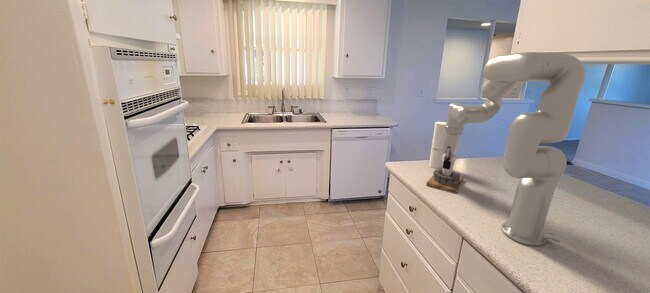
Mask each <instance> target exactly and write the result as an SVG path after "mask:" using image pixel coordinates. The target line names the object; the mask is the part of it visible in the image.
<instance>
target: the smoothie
mask: <svg viewBox="0 0 650 293" xmlns="http://www.w3.org/2000/svg"><path fill="white" fill-rule="evenodd" d="M449 155H451V154H450V153H449ZM442 157H443V161H444V157H445V154H443V155H442ZM449 158H450V156H449ZM457 158H458V155H456V154H455V155H453V156H452V157H451V166H450V169H444V168H443V167H442V169H443V175H446V176H450V175H451V173H452V170H453V169H454V166H455V163H456V160H457ZM453 171H454V170H453Z"/></svg>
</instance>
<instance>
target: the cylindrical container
mask: <svg viewBox="0 0 650 293" xmlns="http://www.w3.org/2000/svg"><path fill="white" fill-rule="evenodd" d="M446 122H447V121H446ZM446 122H445V121H435V122H434V127H433V128H434V129H433V135H432V142H431V149H430V156H429V164H428V166H429V167H430V168H433V169H435V170H436V169H443V157H442V155H443V154H442V150H443V146H444V141H445V137H446V133H445V128H446Z"/></svg>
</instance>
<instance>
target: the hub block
mask: <svg viewBox="0 0 650 293" xmlns="http://www.w3.org/2000/svg"><path fill="white" fill-rule="evenodd" d="M464 179H465V177H464V176H461V174H460V172H457V171H455V170H452V173H451V175H450V176H446V175H443V168H441V169H436V168H435V169H434V171H433V175H432V176H431V177H430V178H429V179H428V180H427V181H426V186H427V187H430V188H435V189H439V190H442V191H446V192H450V193H452V194H453V193H454V194H456V193H457V191H458V190H459V188H460V187H461V186H462V183H463V181H464Z"/></svg>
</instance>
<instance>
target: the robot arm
mask: <svg viewBox="0 0 650 293" xmlns="http://www.w3.org/2000/svg"><path fill="white" fill-rule="evenodd" d="M483 76H484V78H485V80H486V81H485V82H483V84H482V85H481V88H480V89H481V93H482V95H483V96H484V97H485V98H486V101H484V103H482V104H481V105H479V104H478V105H467V104H466V103H461V102H451V103H450V104H449V106H448V110H447V117H446V128H445V133H446V137H445V141H444V146H443V150H442V154H445V157H444V161H443V167H442V169H443V168H444V169H450V166H451V157H452V156H453V155H456V153H457V152H458V148H459V143H460V136H463V134H464V130H465V129H464V128H465V124H466V125H467V124H482V123H483V124H484V123H485V122H488V121H490V120H491V119H492V118H493V117H495V115H497V114H498V113H499V111H500V110H501V108H502V105H503V98H505V96H507V95H508V94H509V93H510V92H511V91H512V90H513V89H514V88H515V87H516V86H517V85H518V84H520V83H521V82H522V83H526V82H530V83H531V82H535V83H536V82H539V83H540V82H546V83H548V85H547V86H546V88H545V89H544V90H543V92H542V93H541V95H540V97H539V101H538V106H537V109H536V111H534V112H533V111H532V112H531V111H530V112H525V113H522V114H519V115H518V116H517V117H516V118H514V119H513V120H512V122H511V123H510V127H509V130H508V134H507V137H506V144H505V148H504V149H505V150H504V154H503V160H502V161H503V162H502V163H503V167H504V170H505V172H506V173H507V174H508V175H509V176H510V177H512V178H515V179H519V181H518V184H517V186H516V189H515V193H514V198H513V201H512V205H511V209H510V214H509V217H508V221H505V222H503V223H502V224H501V228H500V229H501V231H502V233H503V234H504V235H505V236H506V237H507V238H509V239H511V240H513V241H515V242H518V243H520V244H523V245H528V246H533V247H534V246H535V247H537V246H543V245H545V244H546V242H547V240H551V241H553V242H557V243H560V242H561V236H560V235H559V236H558V235H556V232H555V231H552V230H547V229H546V228H545V223H546V220H547V218H548V217H547V216H548V213H549V211H550V206H551V203H552V200H553V197H554V194H555V191H556V188H557V186H558V183H559V182H560V180H561V178H562V176H563V175H564V172H565V170H566V168H567V164H568V163H567V161H568V160H567V157H566V155H565V153H564V152H563V151H562V150H561V149H559V148H557V147H553V146H548V145H547V146H546V145H543V144H556V143H560V142H562V141H564V140H565V139H566V138H567V137H568V135H569V132H570V129H571V127H572V126H571V125H572V121H573V119H574V114H575V110H576V106H577V101H578V99H579V95H580V93H581V90H582V87H583V85H584V81H585V78H586V69H585V66H584V64H583V63H582V61H581V60H580V59H579V58H578V57H576V56H574V55H571V54H568V53H562V52H540V51H536V52H535V51H527V52H519V53H512V54H511V53H509V54H501V55H496V56H493V57H492V58H490V59H489V60H488V61H487V62H486V64H485V65H484V67H483ZM541 144H542V145H541ZM539 145H541V146H539ZM449 153H450V154H451V155H449ZM449 156H450V158H449Z"/></svg>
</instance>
